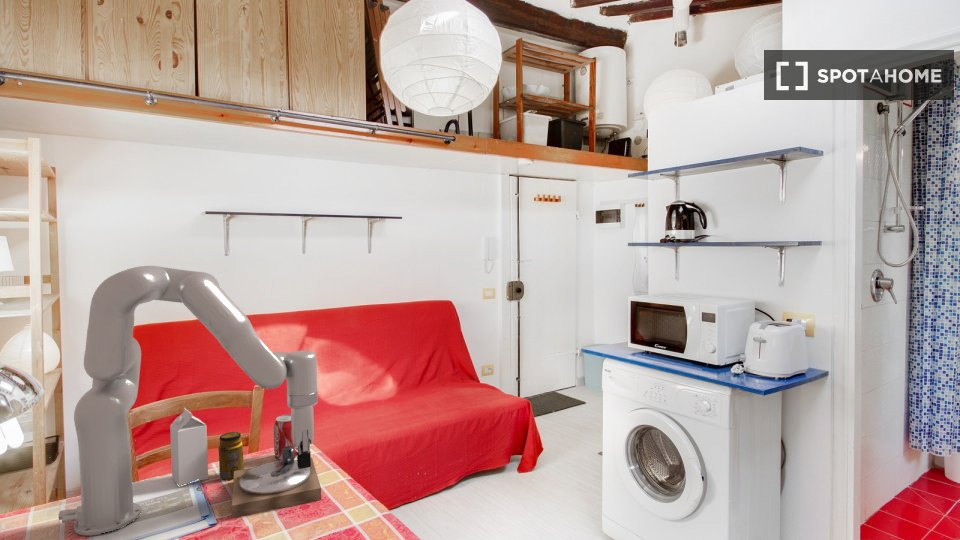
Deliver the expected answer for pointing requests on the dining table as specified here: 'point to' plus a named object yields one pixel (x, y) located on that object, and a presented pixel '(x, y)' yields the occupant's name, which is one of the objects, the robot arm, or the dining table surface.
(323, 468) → the dining table surface
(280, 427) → the soda can
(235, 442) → the condiment
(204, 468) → the milk carton
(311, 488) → the stand
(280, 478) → the dial
